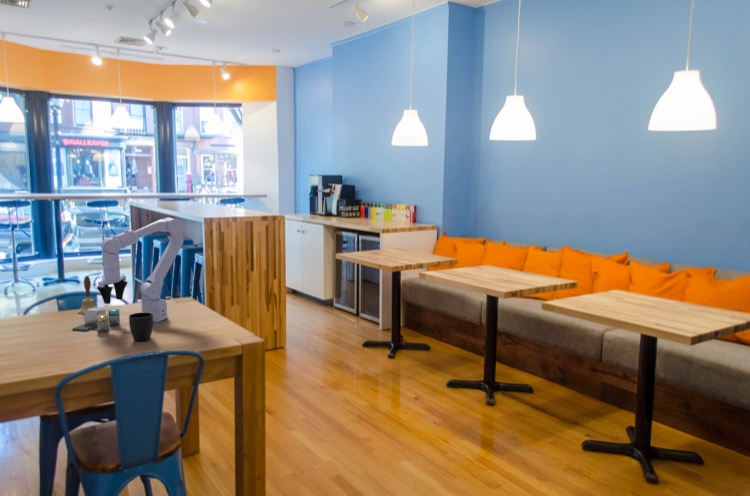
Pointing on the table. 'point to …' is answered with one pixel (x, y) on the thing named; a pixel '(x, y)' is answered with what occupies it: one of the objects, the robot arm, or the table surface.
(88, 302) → the hand bell
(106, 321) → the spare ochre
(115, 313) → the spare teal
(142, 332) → the mug
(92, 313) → the control box
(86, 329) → the pad
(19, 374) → the table surface
